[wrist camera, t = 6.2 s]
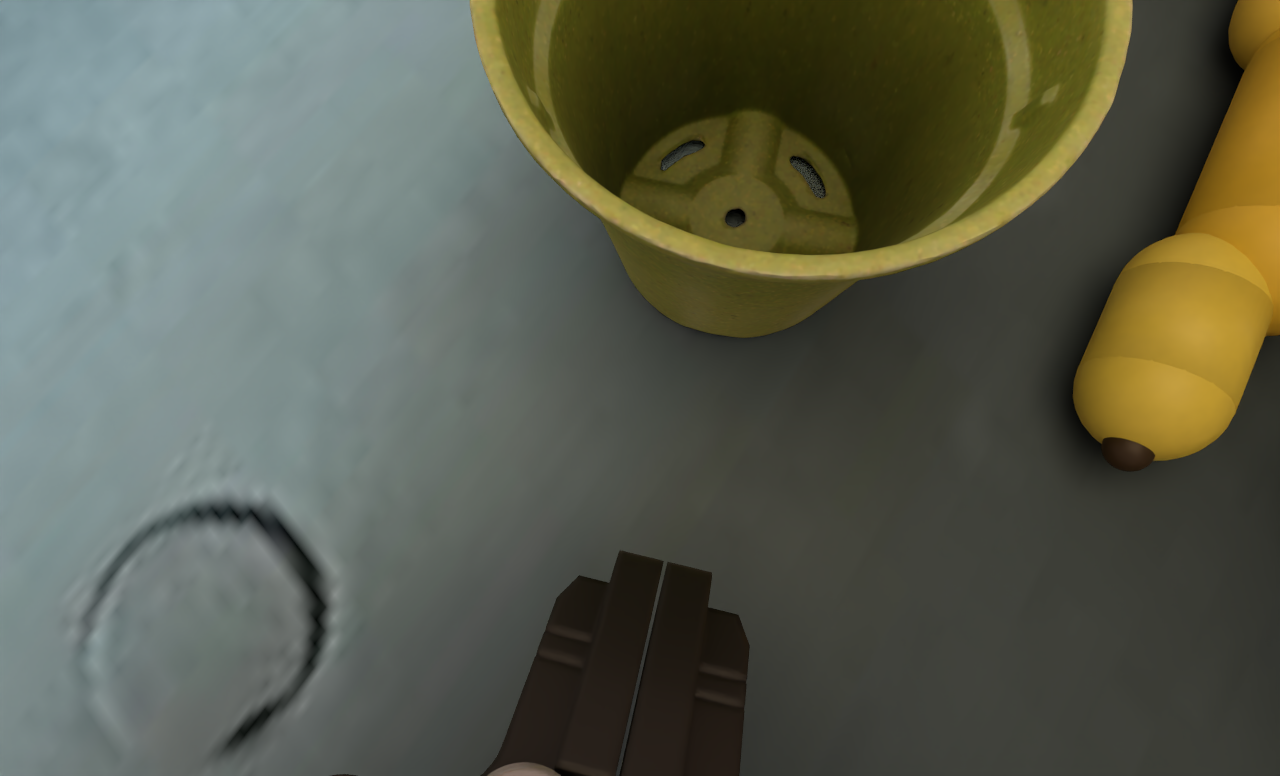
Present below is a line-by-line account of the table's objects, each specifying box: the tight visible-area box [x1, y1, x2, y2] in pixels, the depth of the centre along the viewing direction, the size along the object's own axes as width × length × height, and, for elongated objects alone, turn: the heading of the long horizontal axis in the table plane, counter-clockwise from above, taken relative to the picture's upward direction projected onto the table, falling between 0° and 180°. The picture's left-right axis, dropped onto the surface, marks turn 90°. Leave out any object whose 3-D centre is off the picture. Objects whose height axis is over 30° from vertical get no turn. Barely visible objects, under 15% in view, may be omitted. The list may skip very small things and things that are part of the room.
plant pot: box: [470, 0, 1133, 338], centre depth 15 cm, size 9×9×9 cm
